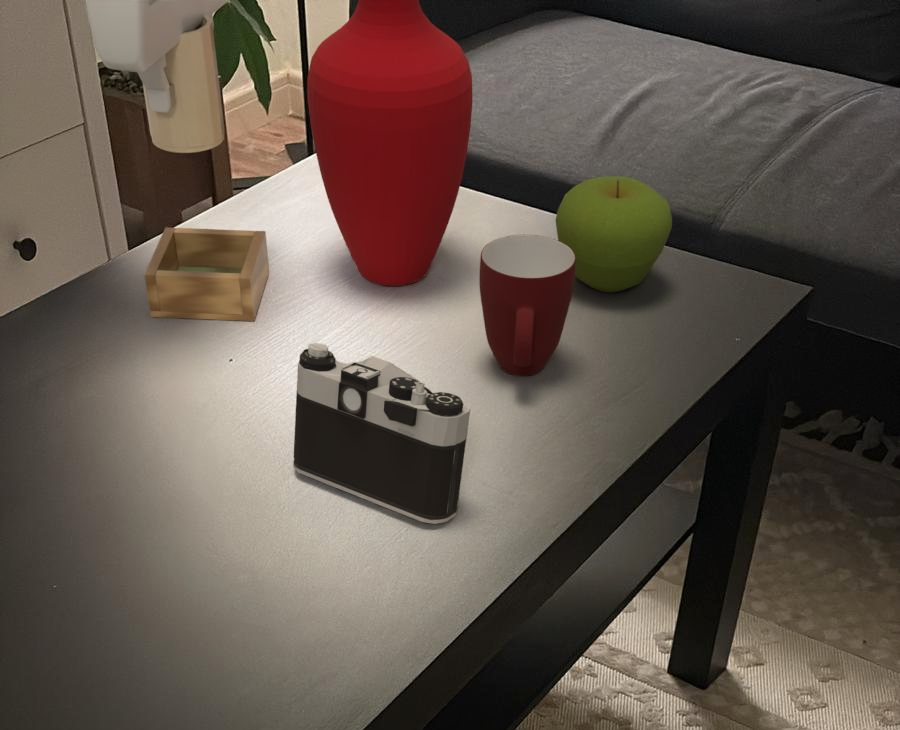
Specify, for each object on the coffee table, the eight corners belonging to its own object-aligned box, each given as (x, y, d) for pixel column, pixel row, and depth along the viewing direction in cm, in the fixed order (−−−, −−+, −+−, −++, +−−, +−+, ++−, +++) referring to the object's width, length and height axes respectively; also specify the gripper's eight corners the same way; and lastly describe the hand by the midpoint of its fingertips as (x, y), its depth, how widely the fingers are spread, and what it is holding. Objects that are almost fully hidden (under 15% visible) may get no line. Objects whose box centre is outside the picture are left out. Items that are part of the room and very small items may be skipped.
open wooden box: (151, 317, 120) (143, 274, 117) (171, 268, 126) (165, 227, 123) (254, 321, 119) (249, 278, 116) (269, 272, 126) (265, 231, 123)
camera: (500, 487, 104) (518, 366, 98) (430, 532, 97) (445, 405, 91) (353, 432, 109) (361, 314, 103) (275, 471, 102) (279, 346, 96)
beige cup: (145, 151, 109) (126, 33, 102) (160, 123, 113) (143, 7, 106) (217, 154, 108) (203, 36, 102) (230, 125, 113) (217, 10, 106)
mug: (575, 403, 111) (586, 292, 103) (483, 405, 110) (487, 294, 103) (560, 341, 118) (569, 233, 110) (472, 343, 117) (476, 234, 110)
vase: (350, 228, 132) (335, -120, 110) (487, 251, 130) (500, -102, 107) (295, 293, 123) (266, -74, 101) (441, 319, 120) (444, -53, 98)
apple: (533, 293, 124) (540, 188, 116) (580, 250, 130) (589, 148, 123) (635, 322, 120) (649, 215, 113) (679, 277, 127) (695, 173, 119)
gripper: (171, -140, 105) (195, 46, 115) (56, -70, 92) (94, 133, 102) (244, -134, 104) (261, 54, 114) (138, -62, 91) (168, 143, 101)
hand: (181, 92), depth 108 cm, fingers closed on beige cup, 6 cm apart
